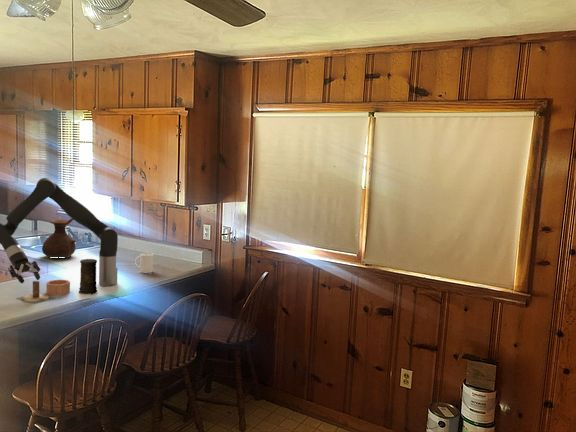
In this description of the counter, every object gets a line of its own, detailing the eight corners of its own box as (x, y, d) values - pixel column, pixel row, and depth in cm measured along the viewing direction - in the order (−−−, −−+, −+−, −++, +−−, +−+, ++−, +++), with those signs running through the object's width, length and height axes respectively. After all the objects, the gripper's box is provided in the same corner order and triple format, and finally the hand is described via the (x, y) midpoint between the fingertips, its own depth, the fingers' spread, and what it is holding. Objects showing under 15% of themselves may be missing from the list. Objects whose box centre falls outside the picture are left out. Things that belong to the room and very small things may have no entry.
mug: (132, 272, 300) (132, 254, 299) (137, 269, 309) (138, 252, 307) (150, 274, 299) (150, 256, 298) (155, 271, 308) (155, 253, 307)
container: (75, 292, 251) (75, 260, 249) (90, 289, 258) (91, 257, 256) (85, 296, 246) (85, 263, 244) (100, 292, 254) (100, 260, 252)
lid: (39, 293, 243) (39, 277, 242) (54, 297, 238) (54, 281, 237) (17, 299, 233) (17, 282, 232) (32, 303, 228) (32, 286, 227)
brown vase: (54, 262, 316) (54, 218, 313) (35, 257, 327) (35, 215, 323) (82, 257, 335) (83, 216, 331) (64, 253, 345) (64, 213, 342)
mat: (37, 294, 244) (37, 293, 244) (56, 299, 238) (56, 298, 238) (15, 299, 233) (15, 298, 233) (34, 305, 227) (34, 304, 227)
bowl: (60, 289, 255) (60, 278, 255) (74, 292, 251) (74, 281, 250) (41, 293, 246) (41, 282, 245) (56, 297, 241) (56, 286, 240)
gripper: (6, 253, 232) (21, 279, 228) (32, 249, 245) (47, 273, 241) (-1, 262, 235) (14, 287, 231) (26, 257, 248) (40, 282, 244)
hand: (31, 280), depth 236 cm, fingers open, 8 cm apart
